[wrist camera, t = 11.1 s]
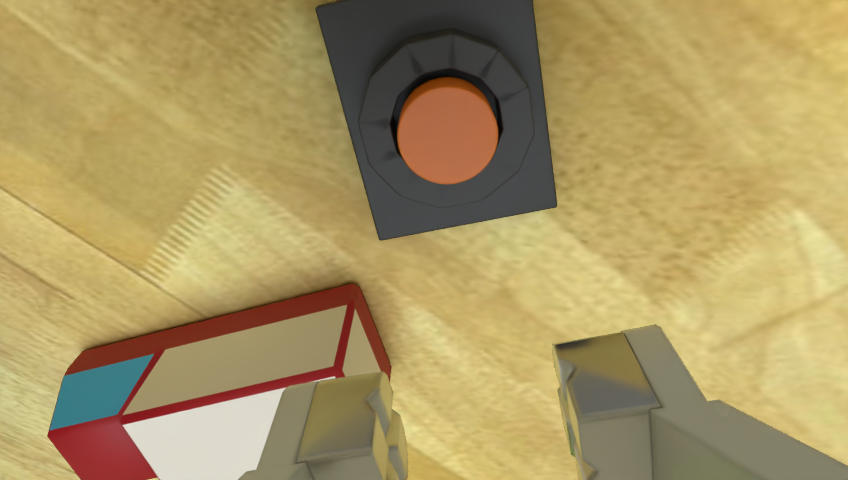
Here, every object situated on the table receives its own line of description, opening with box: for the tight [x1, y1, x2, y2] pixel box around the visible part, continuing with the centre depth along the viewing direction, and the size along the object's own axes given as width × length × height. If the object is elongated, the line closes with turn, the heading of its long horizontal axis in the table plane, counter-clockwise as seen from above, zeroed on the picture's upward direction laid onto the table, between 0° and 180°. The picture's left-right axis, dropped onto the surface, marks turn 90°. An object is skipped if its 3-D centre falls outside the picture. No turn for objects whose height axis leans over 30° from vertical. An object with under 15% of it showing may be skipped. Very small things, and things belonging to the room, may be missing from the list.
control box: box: [316, 0, 557, 240], centre depth 23 cm, size 10×8×2 cm
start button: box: [397, 77, 498, 184], centre depth 21 cm, size 4×4×2 cm
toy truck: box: [47, 284, 391, 480], centre depth 27 cm, size 6×15×7 cm, turn 106°
